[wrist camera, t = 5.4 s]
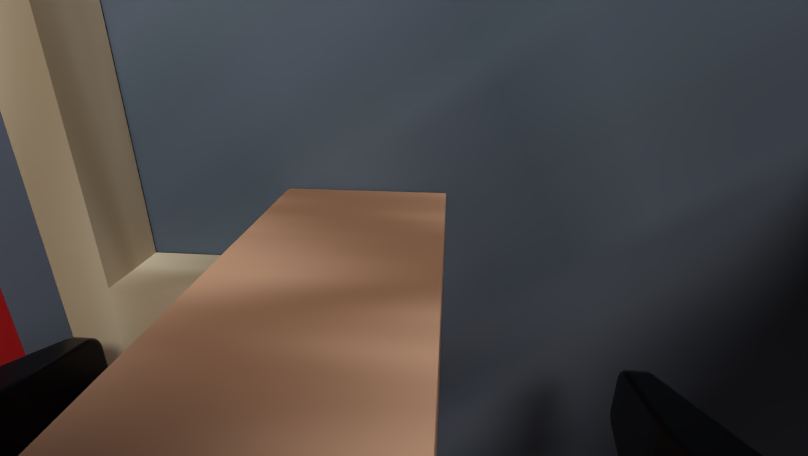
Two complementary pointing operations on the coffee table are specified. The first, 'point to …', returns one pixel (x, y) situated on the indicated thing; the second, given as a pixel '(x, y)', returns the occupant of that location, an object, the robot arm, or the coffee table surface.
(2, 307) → the puzzle toy
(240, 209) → the coffee table surface
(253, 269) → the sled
